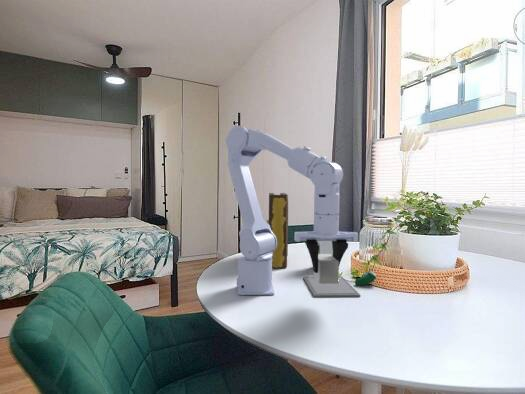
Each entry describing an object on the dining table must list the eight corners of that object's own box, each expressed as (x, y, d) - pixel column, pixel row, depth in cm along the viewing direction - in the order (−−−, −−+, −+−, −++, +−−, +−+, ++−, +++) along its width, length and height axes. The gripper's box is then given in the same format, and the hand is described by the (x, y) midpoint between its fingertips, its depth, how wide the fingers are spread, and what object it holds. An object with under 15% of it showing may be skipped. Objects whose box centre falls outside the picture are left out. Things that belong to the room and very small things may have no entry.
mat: (314, 297, 77) (314, 294, 77) (303, 278, 92) (303, 276, 92) (360, 296, 77) (360, 294, 77) (342, 278, 92) (342, 276, 92)
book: (290, 269, 102) (291, 195, 100) (265, 268, 102) (266, 194, 101) (286, 253, 124) (287, 192, 123) (265, 253, 124) (266, 192, 123)
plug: (320, 283, 67) (320, 261, 67) (311, 271, 76) (311, 251, 76) (338, 283, 67) (338, 261, 67) (327, 271, 76) (327, 251, 76)
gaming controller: (363, 293, 85) (379, 279, 84) (353, 283, 86) (370, 269, 84) (359, 282, 94) (374, 270, 93) (351, 273, 95) (365, 261, 94)
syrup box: (335, 270, 100) (336, 227, 100) (319, 271, 99) (320, 227, 98) (327, 265, 106) (328, 224, 105) (312, 266, 105) (313, 225, 104)
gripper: (298, 215, 65) (297, 277, 66) (363, 215, 66) (362, 276, 67) (293, 212, 72) (292, 267, 73) (352, 212, 73) (351, 267, 74)
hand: (325, 271), depth 70 cm, fingers closed on plug, 4 cm apart
